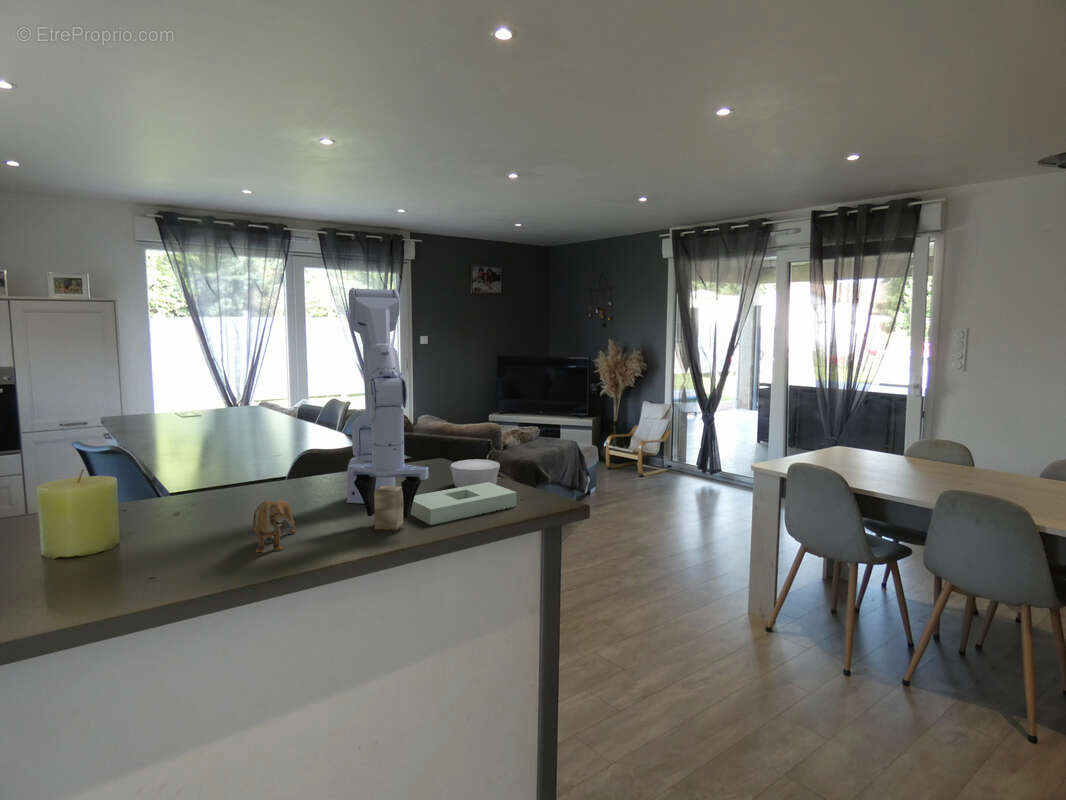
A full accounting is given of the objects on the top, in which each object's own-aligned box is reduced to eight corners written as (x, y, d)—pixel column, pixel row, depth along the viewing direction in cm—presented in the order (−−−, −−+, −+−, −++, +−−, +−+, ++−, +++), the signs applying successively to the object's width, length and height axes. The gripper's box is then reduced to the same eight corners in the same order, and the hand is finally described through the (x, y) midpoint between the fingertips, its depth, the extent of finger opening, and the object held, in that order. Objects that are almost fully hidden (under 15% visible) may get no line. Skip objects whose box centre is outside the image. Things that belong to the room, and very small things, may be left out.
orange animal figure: (286, 559, 99) (284, 503, 98) (250, 561, 97) (247, 505, 96) (298, 528, 113) (296, 480, 112) (266, 530, 112) (264, 481, 110)
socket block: (430, 525, 116) (430, 509, 115) (405, 511, 123) (405, 497, 123) (516, 506, 128) (516, 492, 128) (488, 495, 136) (488, 482, 135)
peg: (374, 528, 113) (374, 491, 113) (382, 521, 117) (382, 485, 116) (396, 529, 113) (395, 492, 112) (403, 522, 117) (402, 486, 116)
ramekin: (445, 482, 147) (445, 460, 146) (490, 478, 151) (490, 457, 150) (458, 495, 136) (458, 471, 136) (506, 490, 141) (506, 467, 140)
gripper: (340, 446, 110) (342, 520, 112) (420, 449, 108) (421, 524, 110) (356, 438, 117) (357, 508, 119) (431, 441, 115) (431, 512, 117)
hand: (389, 515), depth 115 cm, fingers open, 6 cm apart
